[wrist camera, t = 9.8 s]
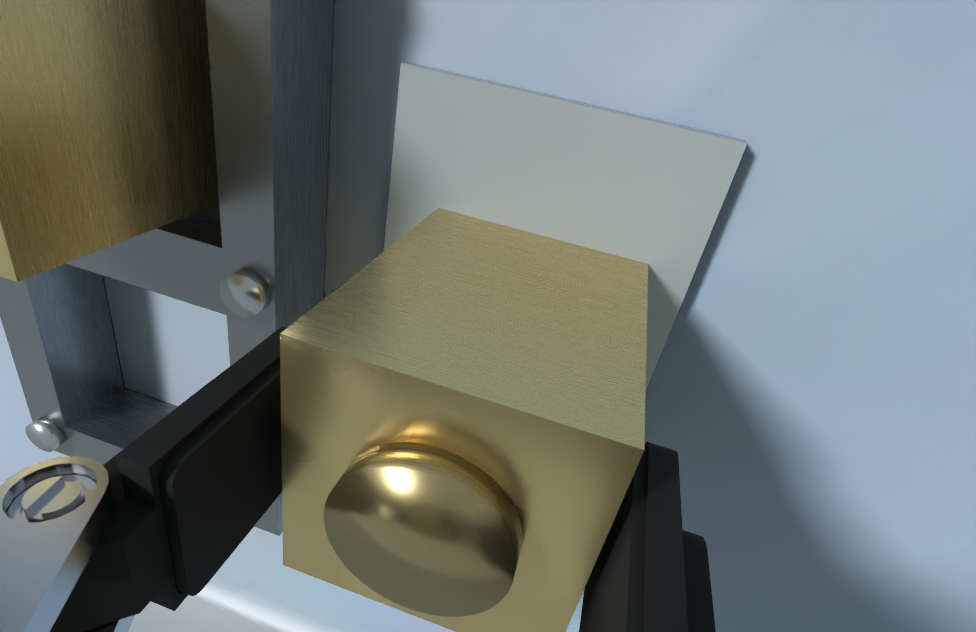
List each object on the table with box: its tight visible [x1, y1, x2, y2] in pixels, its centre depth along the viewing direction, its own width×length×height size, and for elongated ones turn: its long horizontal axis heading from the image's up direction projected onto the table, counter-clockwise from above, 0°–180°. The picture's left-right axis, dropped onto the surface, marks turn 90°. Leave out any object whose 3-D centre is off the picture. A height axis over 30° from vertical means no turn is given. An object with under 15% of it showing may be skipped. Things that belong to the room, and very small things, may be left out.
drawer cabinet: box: [0, 0, 334, 536], centre depth 16 cm, size 10×19×3 cm, turn 170°
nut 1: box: [0, 0, 219, 282], centre depth 12 cm, size 6×6×8 cm
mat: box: [384, 63, 747, 390], centre depth 15 cm, size 8×12×1 cm, turn 170°
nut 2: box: [280, 208, 648, 632], centre depth 12 cm, size 6×6×8 cm
